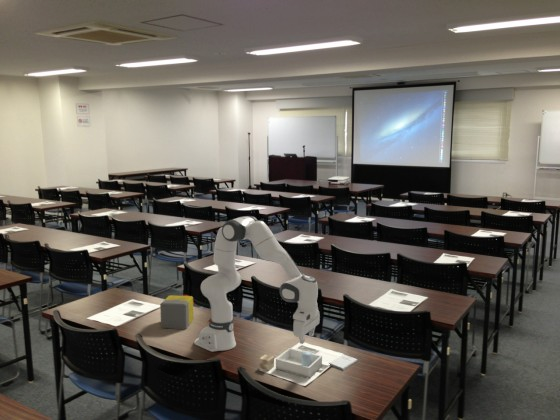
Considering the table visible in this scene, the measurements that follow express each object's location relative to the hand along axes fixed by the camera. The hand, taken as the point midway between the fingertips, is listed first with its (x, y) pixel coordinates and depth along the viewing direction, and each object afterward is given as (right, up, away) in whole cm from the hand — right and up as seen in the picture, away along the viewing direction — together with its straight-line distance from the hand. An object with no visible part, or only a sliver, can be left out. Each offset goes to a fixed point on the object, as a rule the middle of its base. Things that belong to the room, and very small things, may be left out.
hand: (306, 339), depth 215 cm
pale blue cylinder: (0, -14, +2) cm, 14 cm away
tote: (-3, -14, +4) cm, 15 cm away
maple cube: (-19, -15, +4) cm, 24 cm away
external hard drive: (+18, -15, +9) cm, 25 cm away
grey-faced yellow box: (-72, -6, +61) cm, 95 cm away
